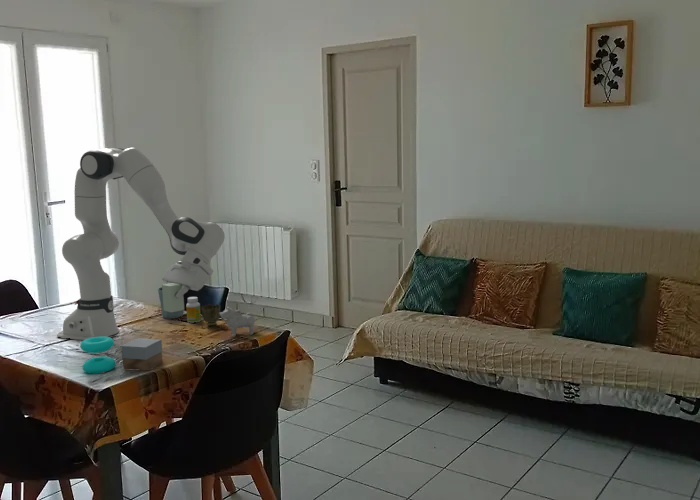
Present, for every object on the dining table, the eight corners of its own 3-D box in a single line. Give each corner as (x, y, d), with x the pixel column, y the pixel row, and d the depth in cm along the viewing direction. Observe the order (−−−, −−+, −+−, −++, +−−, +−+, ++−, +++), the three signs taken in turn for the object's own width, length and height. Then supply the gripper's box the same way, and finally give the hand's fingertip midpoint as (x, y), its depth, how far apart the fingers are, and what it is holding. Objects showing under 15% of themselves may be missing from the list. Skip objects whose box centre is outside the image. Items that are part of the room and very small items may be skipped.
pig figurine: (220, 334, 260) (218, 306, 259) (254, 330, 264) (252, 303, 262) (221, 337, 255) (219, 309, 254) (256, 334, 259) (254, 306, 257)
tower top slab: (122, 357, 223) (121, 345, 222) (138, 349, 231) (137, 338, 230) (146, 359, 220) (145, 347, 219) (162, 351, 228) (161, 339, 228)
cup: (225, 323, 275) (223, 303, 274) (215, 328, 268) (214, 308, 267) (208, 322, 278) (207, 303, 276) (198, 327, 271) (197, 307, 269)
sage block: (163, 310, 240) (161, 284, 238) (176, 307, 243) (174, 282, 242) (171, 312, 236) (169, 286, 235) (184, 309, 240) (182, 283, 238)
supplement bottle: (197, 323, 277) (196, 299, 276) (185, 323, 279) (183, 299, 277) (203, 319, 283) (201, 296, 281) (190, 319, 284) (189, 296, 282)
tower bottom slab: (123, 370, 223) (122, 358, 222) (137, 361, 231) (136, 350, 231) (150, 371, 221) (149, 359, 220) (162, 362, 230) (161, 350, 229)
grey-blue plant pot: (181, 318, 286) (179, 289, 284) (156, 319, 286) (154, 290, 284) (187, 312, 296) (185, 284, 294) (163, 313, 296) (161, 285, 294)
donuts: (119, 336, 225) (98, 345, 215) (122, 366, 226) (101, 376, 217) (95, 334, 228) (72, 342, 219) (97, 363, 230) (76, 373, 220)
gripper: (171, 255, 249) (149, 287, 244) (204, 261, 235) (181, 294, 230) (183, 266, 253) (161, 297, 248) (216, 272, 239) (194, 305, 234)
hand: (171, 296), depth 238 cm, fingers closed on sage block, 5 cm apart
